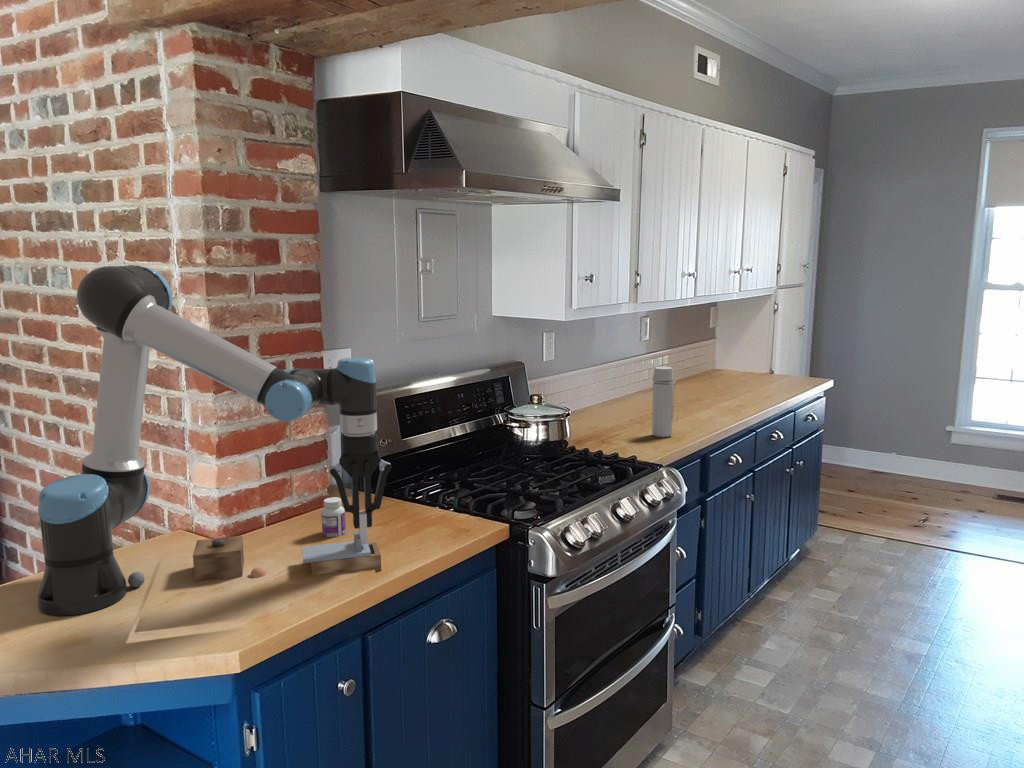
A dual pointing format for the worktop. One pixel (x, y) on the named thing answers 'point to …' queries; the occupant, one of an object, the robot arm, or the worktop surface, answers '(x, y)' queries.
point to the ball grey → (136, 579)
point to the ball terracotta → (258, 572)
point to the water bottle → (663, 401)
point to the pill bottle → (333, 518)
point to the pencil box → (349, 562)
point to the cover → (218, 558)
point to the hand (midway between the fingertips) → (363, 541)
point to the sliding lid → (336, 550)
